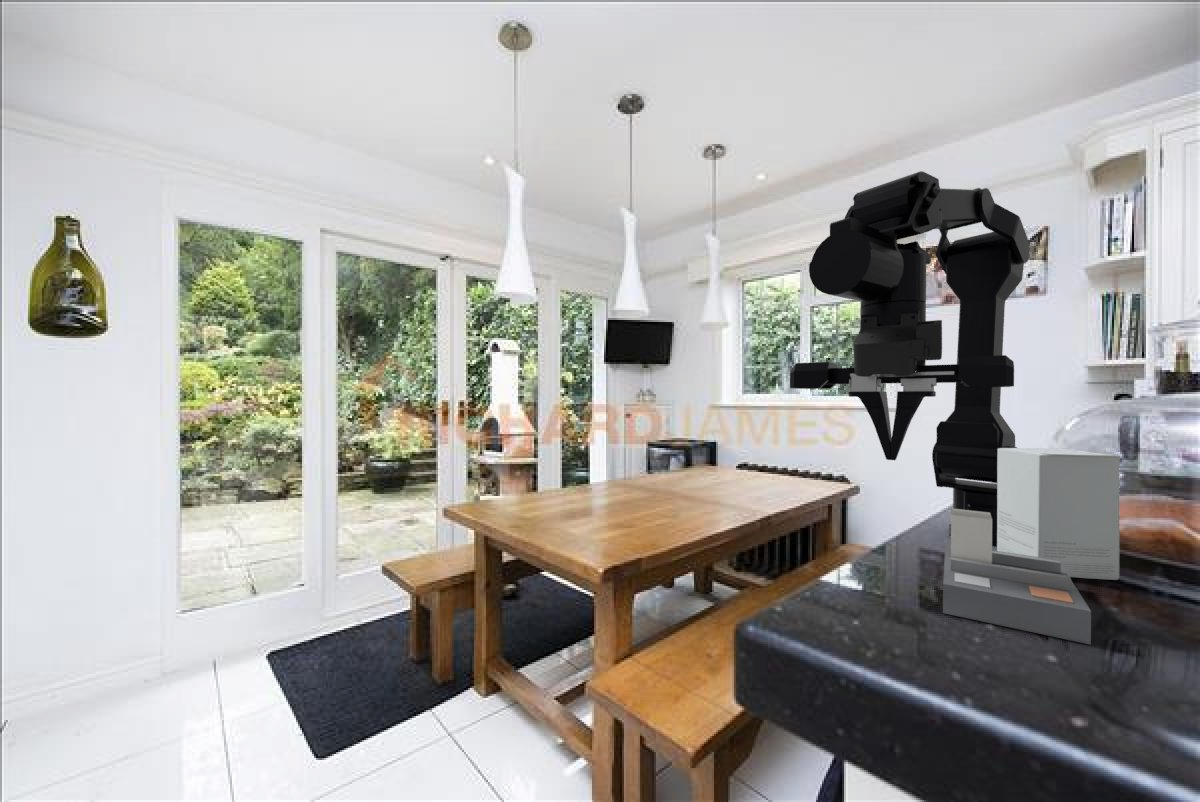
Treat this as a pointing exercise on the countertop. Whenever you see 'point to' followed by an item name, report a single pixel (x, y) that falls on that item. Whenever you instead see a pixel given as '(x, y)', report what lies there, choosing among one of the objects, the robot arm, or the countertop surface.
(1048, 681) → the countertop surface
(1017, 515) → the supplement box
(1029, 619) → the switch board
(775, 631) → the countertop surface
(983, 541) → the switch tab
